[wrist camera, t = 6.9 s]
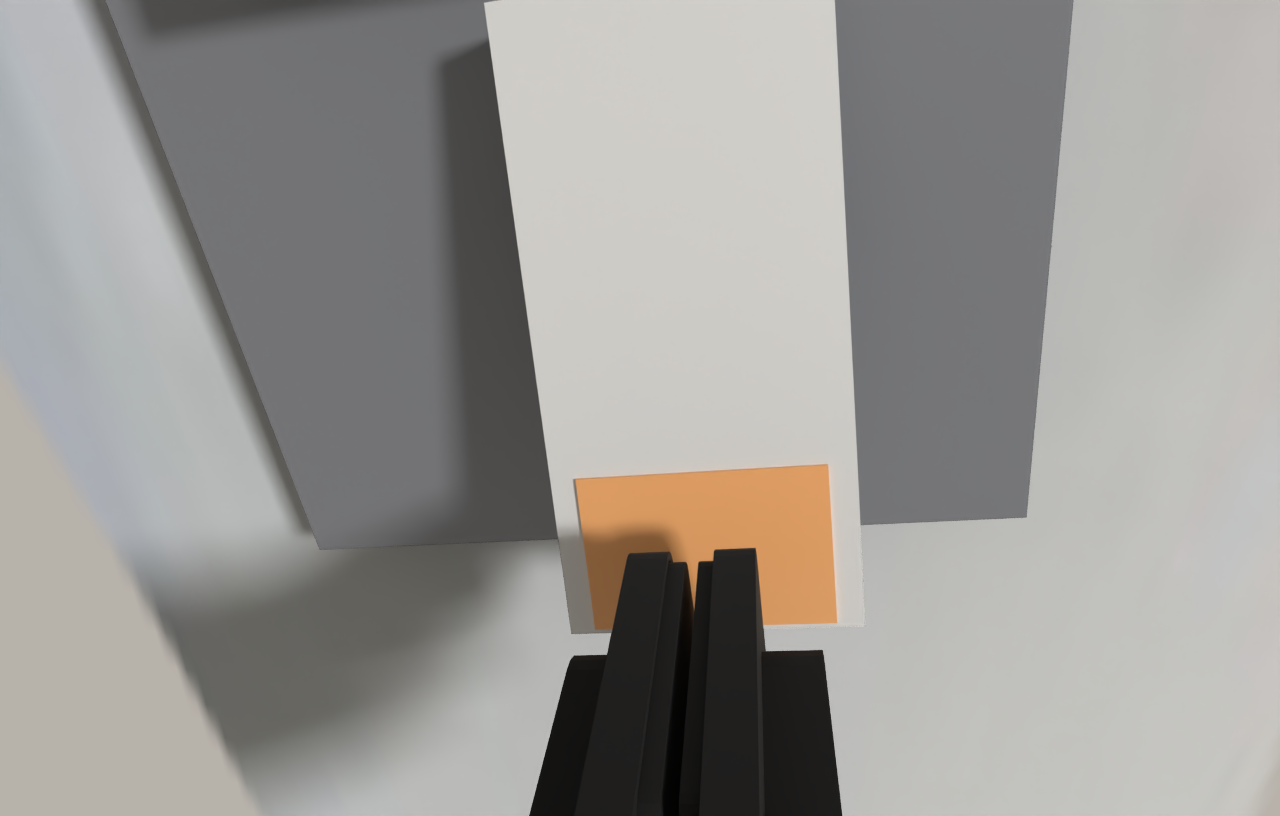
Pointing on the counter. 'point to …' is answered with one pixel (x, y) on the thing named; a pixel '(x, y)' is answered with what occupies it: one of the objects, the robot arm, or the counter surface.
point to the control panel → (490, 266)
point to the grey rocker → (687, 290)
